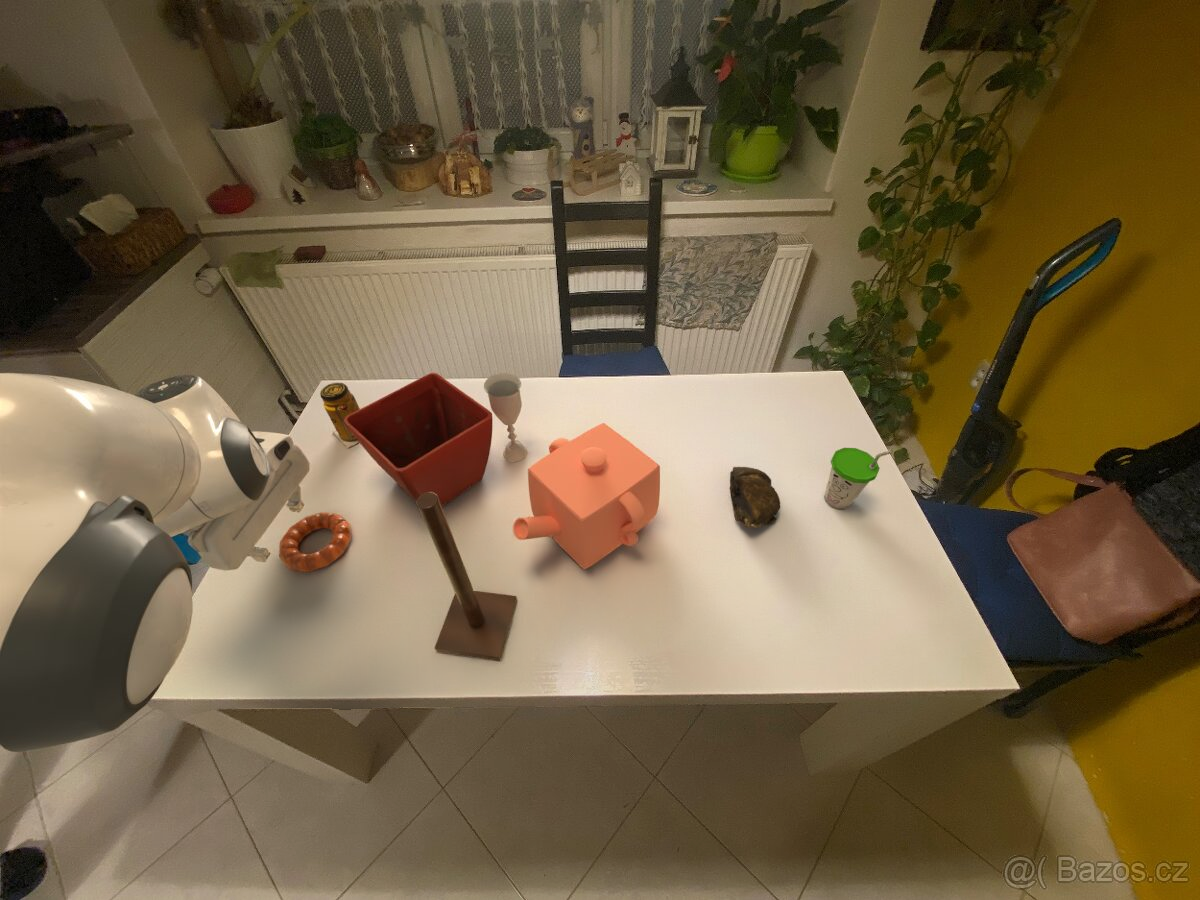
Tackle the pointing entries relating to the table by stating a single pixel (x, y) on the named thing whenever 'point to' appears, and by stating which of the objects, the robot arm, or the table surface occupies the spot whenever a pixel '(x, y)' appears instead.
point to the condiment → (340, 410)
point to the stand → (466, 597)
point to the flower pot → (427, 437)
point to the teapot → (591, 494)
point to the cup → (850, 475)
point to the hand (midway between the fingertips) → (281, 532)
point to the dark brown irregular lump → (753, 497)
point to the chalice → (507, 409)
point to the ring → (324, 556)
